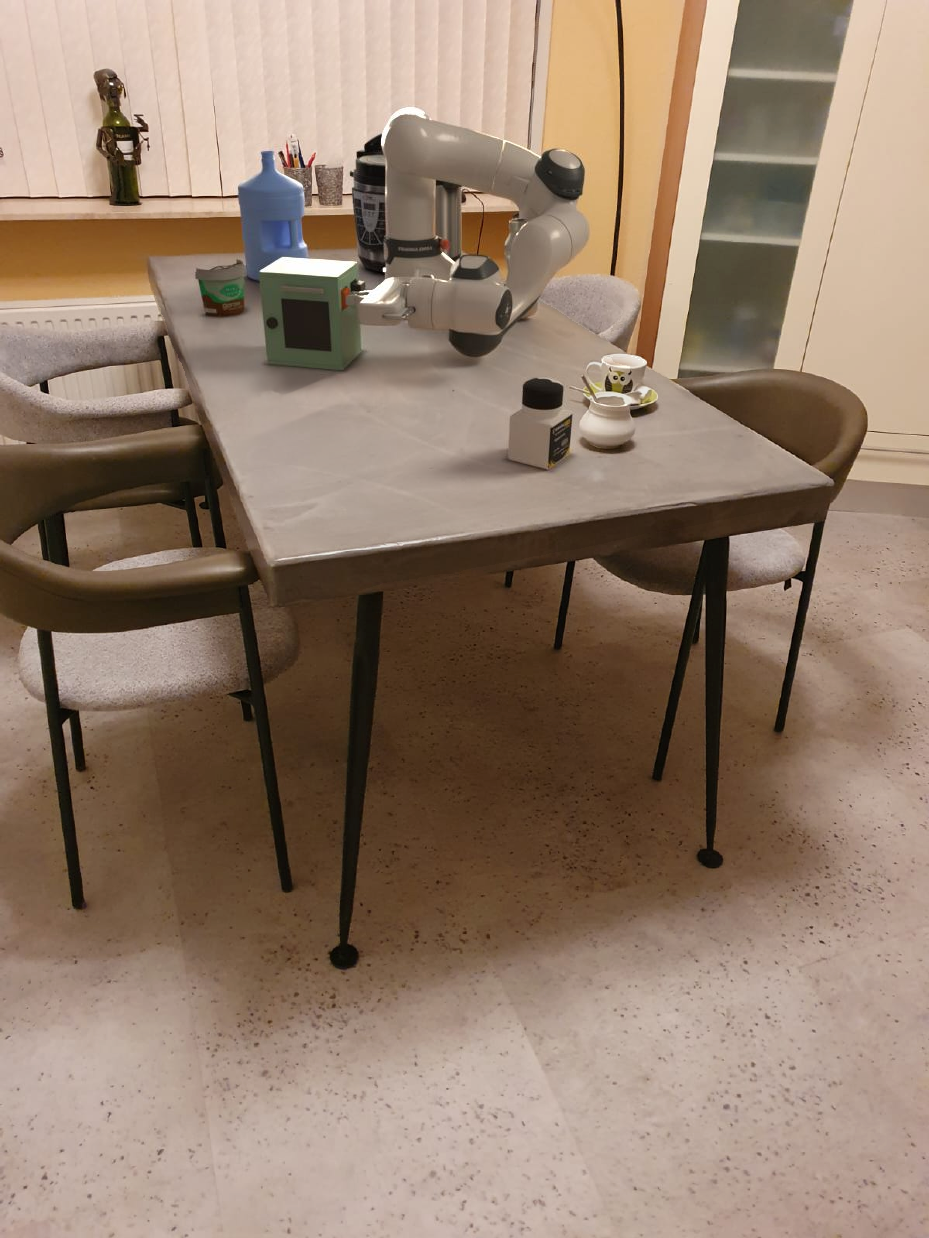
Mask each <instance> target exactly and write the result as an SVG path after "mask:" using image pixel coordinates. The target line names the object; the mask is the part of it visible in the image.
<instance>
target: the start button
mask: <svg viewBox="0 0 929 1238" xmlns="http://www.w3.org/2000/svg"><path fill="white" fill-rule="evenodd" d="M349 293H350V288H343V289H342V290H341V302H342V309H346V308H347V307H348V306H349V305H347V304H346V298H345V297H346V296H347V295H348V294H349Z"/></svg>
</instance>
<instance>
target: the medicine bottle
mask: <svg viewBox="0 0 929 1238" xmlns="http://www.w3.org/2000/svg"><path fill="white" fill-rule="evenodd" d="M564 388H565V387H564V385H563V383H562V382H561V381H559V380H557V379H554V378H551V377H545V376H543V377H542V376H541V377H539V376H538V377H533V378H530V379H528V380H525V382H524V383H523V384H522V391H521V392H522V393H521V409H519V410H517V411H516V412H514V413H512V414H510V416H509V427H508V428H509V429H508V450H507V451H508V452H507V458H508V460H509V461H513V462H516V463H520V464H524V465H528V466H532V467H535V468H539V469H544V470H550V469H551V468H554V466H555V465H557V464H558V463H559V462H561V461H562V460H564V459H565V458H566V457H568V456H569V455H570V453H571V451H570V450H571V438H572V437H571V436H572V426H573V413H574V412H572V410H569V409H563V402H564V401H563V400H564V391H565V390H564Z"/></svg>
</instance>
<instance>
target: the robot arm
mask: <svg viewBox="0 0 929 1238" xmlns="http://www.w3.org/2000/svg"><path fill="white" fill-rule="evenodd" d="M386 123H387V124H386V126H385V127H384V130H383V132H382V133H383V135H382V150H383V154H384V156H385V158H386V181H385V217H386V235H385V236H384V259H385V262H386V268H383V272H382V273H384V280H383V281H382V282H381V283H380V284H379V285H378V286H376V287H375V288H374V289H372V290H371V289H369V290H365V291H361V292H353V291H352V292H350V293H349V294H348V295H347V296H346V297H345V298H346V304H347V305H350V306H356V307H357V319H358V323H360V325H364V326H373V327H374V326H375V327H377V326H379V327H391V326H392V327H393V326H398V325H400V324H402V322H404V321H405V322H407V325H408V327H409V328H410V329H414V330H415V329H418V330H427V331H428V330H430V331H442V330H448V335H447V336H448V337H447V339H448V342H449V343H450V345H451V346H452V347H453V348H454V349H455V350H456V351H457V352H459V353H460V354H461V355H463V356H465V357H467V358H480V357H483V356H487V355H489V354H491V353H492V352H493V351H494V350H495V349H496V348H497V347H498V346H499V345H500V344H501V342H502V340H503V337H504V336H505V335H506V334H507V332H508V331H510V330H511V329H512V328H513V326H515V325H516V324H517V323H518V322H519V321H520V320H521V319H523V318H522V317H523V316H524V315H525V314H526V313H527V312H528V311H529V310H530V309H531V308H532V307H533V306H534V305H535V303H536V302H537V303H538V300H539V299H540V297H541V296H542V294H543V292H544V290H545V289H546V287H547V286H548V285H549V283H550V281H551V280H552V279H553V278H554V277H555V275H556V274H557V273H558V272H559V271H560V270H561V269H563V268H564V267H566V266H567V265H568V264H570V263H571V262H572V261H573V260H574V259H576V258H577V257H578V255H580V253H581V252H582V251H583V250H584V248H585V247H586V246H587V245H588V241H589V239H590V231H591V230H590V225H589V222H588V219H587V217H585V215H584V214H583V213H582V212H581V211H580V210H578V209H577V205H578V202H579V199H580V197H581V196H583V194H584V193H583V192H584V185H585V176H586V175H585V174H586V169H585V166H584V163H583V162H582V160H581V159H580V157H578V155H576V154H575V153H573V152H571V151H569V150H566V149H563V148H550V149H546V150H545V151H543V153H542V154H541V155H538V154H536V153H534V152H533V151H531V150H529V149H527V148H525V147H524V146H521V145H518V144H516V143H513V142H511V141H508V140H505V139H502V138H499V137H496V136H492V135H490V134H486V133H484V132H480V131H478V130H474V129H472V128H469V127H468V128H467V127H462V126H459V125H458V126H457V125H453V124H450V123H446V122H442V121H437V120H433V119H431V118H430V116H429V115H428V114H427V113H426V112H424V111H423V110H421V109H420V108H416V107H405V108H401V109H399V110H398V111H396V112H395V113H394V114H393V115H392V116H391V117H390V119H389V120H388V122H386ZM436 180H439V181H444V182H449V183H454V184H458V185H461V186H463V188H464V187H465V188H467V189H471V190H474V191H476V192H480V193H484V194H486V195H490V196H493V197H497V198H502V199H505V200H508V201H511V202H513V203H514V204H515V206H516V207H517V209H518V212H515V213H514V214H513V215H512V219H526V224H525V225H524V226H523V227H522V228H521V229H520V230H519V231H518V233H517V234H516V235H515V237H514V239H513V242H512V245H511V250H510V257H509V266H508V268H507V273H506V274H507V275H506V280H505V282H504V283H503V281H502V277H501V271H500V267H499V266H498V263H496V262H495V260H493V259H492V258H491V257H489V256H488V255H486V254H485V255H484V254H475V253H474V254H472V253H471V254H470V253H469V254H468V253H467V254H461V256H460V258H459V259H457V260H456V261H455V262H454V261H453V260H452V259H450V258H449V257H448V256H447V255H445V254H444V253H443V250H448V249H449V247H450V242H449V241H447V240H446V239H442V238H440V237H438V236H437V235H435V188H436Z"/></svg>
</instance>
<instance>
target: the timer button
mask: <svg viewBox="0 0 929 1238" xmlns="http://www.w3.org/2000/svg"><path fill="white" fill-rule="evenodd" d="M350 289H351V292H352V291H353V292H361V291H366V281H364V280H359V281H352V282H351V283H350Z"/></svg>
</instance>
